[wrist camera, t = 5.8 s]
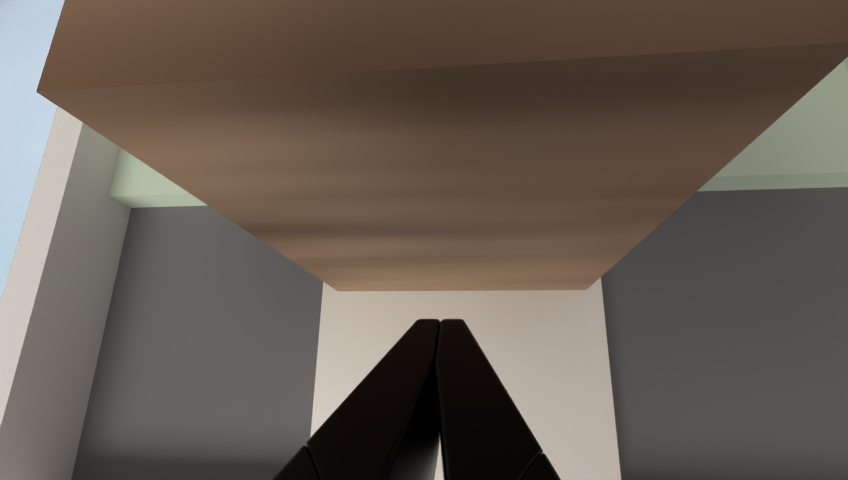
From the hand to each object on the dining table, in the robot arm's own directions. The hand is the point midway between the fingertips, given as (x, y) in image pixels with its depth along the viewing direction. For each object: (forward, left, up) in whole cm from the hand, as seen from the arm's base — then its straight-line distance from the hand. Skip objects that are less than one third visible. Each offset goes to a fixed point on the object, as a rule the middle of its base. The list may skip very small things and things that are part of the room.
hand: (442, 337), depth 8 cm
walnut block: (+6, -3, -6) cm, 9 cm away
